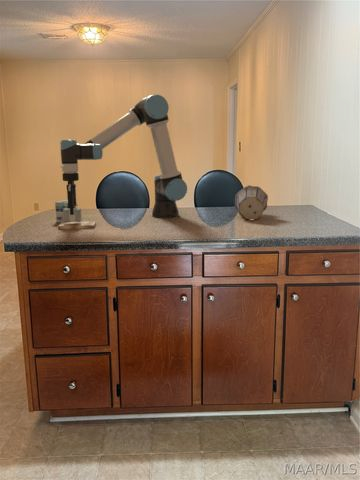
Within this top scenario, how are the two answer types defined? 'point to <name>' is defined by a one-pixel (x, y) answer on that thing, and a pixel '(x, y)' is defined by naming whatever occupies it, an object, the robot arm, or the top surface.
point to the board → (77, 225)
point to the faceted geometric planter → (251, 202)
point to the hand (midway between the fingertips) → (73, 220)
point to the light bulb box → (60, 209)
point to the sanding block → (77, 215)
